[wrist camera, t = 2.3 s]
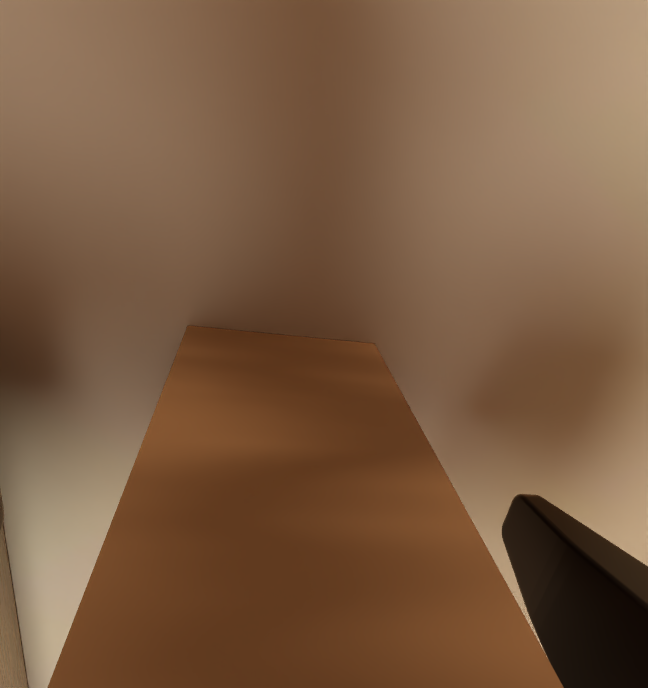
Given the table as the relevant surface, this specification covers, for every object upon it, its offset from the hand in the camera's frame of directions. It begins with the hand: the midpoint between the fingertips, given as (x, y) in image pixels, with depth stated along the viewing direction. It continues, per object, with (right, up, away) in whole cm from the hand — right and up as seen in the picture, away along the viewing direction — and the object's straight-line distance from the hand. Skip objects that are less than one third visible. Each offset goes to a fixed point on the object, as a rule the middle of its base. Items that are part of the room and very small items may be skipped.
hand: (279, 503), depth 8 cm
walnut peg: (0, +1, +2) cm, 3 cm away
